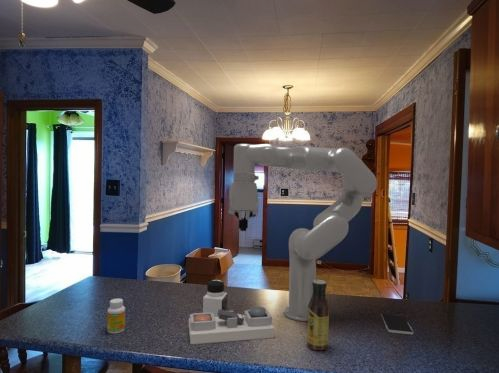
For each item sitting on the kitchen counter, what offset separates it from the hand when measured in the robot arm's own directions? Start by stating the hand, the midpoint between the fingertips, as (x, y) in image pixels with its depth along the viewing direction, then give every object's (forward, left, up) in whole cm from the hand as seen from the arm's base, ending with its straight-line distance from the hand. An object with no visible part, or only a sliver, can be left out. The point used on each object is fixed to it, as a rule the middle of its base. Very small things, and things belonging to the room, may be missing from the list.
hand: (243, 230), depth 127 cm
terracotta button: (+15, +12, -28) cm, 34 cm away
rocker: (+6, +12, -26) cm, 29 cm away
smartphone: (-52, +15, -32) cm, 63 cm away
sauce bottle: (-18, +26, -31) cm, 44 cm away
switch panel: (+6, +12, -31) cm, 34 cm away
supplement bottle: (+42, +4, -31) cm, 53 cm away
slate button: (-3, +12, -27) cm, 29 cm away
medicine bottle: (+9, -4, -31) cm, 33 cm away
